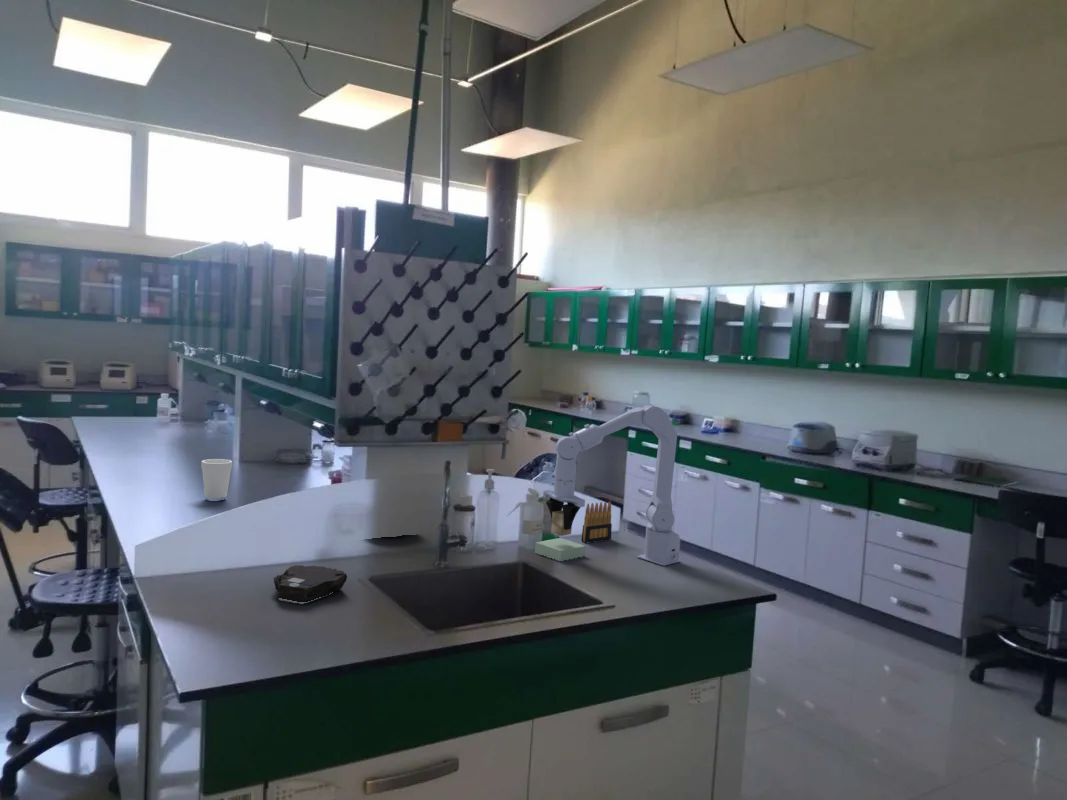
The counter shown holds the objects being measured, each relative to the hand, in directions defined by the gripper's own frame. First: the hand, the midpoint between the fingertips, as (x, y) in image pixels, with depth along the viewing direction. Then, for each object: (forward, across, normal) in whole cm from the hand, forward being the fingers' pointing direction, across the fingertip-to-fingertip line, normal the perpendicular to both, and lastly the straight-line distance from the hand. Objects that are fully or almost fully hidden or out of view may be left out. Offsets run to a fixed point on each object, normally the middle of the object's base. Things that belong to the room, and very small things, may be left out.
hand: (561, 527), depth 215 cm
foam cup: (+8, -108, -55) cm, 121 cm away
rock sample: (+8, -8, -72) cm, 73 cm away
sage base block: (+8, 0, 0) cm, 8 cm away
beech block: (+2, 0, 0) cm, 2 cm away
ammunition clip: (+8, -5, +21) cm, 23 cm away
